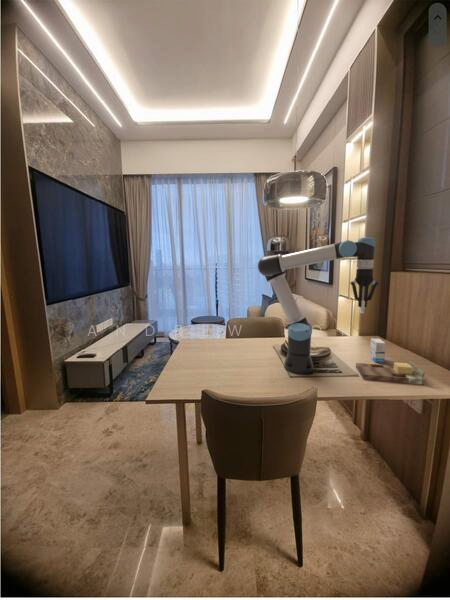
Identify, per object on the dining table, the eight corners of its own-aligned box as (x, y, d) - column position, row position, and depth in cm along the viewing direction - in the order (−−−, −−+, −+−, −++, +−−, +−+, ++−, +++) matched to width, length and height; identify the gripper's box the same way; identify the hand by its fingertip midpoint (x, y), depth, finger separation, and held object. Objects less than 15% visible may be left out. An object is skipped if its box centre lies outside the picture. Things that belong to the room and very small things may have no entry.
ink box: (384, 363, 137) (386, 343, 135) (374, 362, 138) (376, 342, 136) (378, 357, 145) (380, 338, 144) (369, 357, 146) (370, 338, 145)
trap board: (363, 379, 119) (364, 367, 118) (355, 367, 133) (356, 356, 132) (423, 384, 113) (424, 372, 112) (409, 371, 126) (410, 360, 126)
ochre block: (397, 373, 119) (398, 366, 119) (393, 369, 124) (394, 362, 124) (411, 374, 118) (412, 367, 117) (407, 370, 123) (407, 363, 122)
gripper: (352, 268, 125) (350, 314, 129) (381, 268, 122) (378, 314, 125) (349, 268, 132) (346, 311, 136) (376, 267, 129) (373, 312, 133)
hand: (361, 313), depth 131 cm, fingers closed
